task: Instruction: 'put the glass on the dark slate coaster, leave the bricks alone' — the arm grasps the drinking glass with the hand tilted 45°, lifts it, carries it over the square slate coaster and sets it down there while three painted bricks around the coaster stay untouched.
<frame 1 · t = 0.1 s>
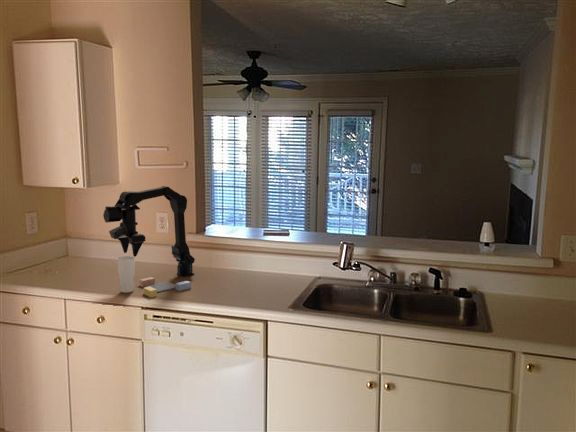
hand: (130, 254, 214), 15 cm above the worktop, tool pointing down, fingers open, 9 cm apart
drinking glass: (127, 291, 209), on the worktop
slate coaster: (162, 287, 215), on the worktop
brick slate blue: (183, 289, 214), on the worktop
brick mustard: (150, 295, 205), on the worktop
brick terracotta: (147, 285, 219), on the worktop
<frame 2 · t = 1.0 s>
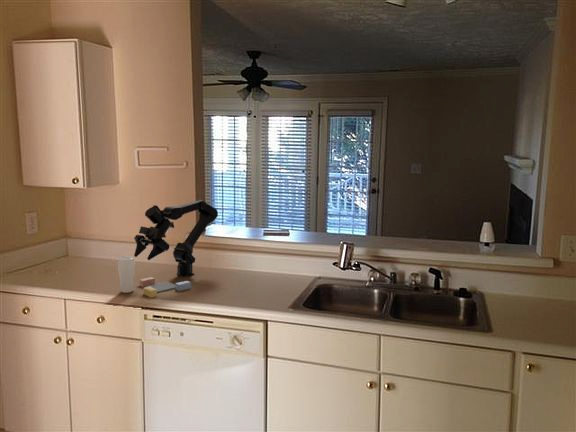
hand: (141, 258, 214), 13 cm above the worktop, tool tilted 45°, fingers open, 9 cm apart
nothing on the worktop moved.
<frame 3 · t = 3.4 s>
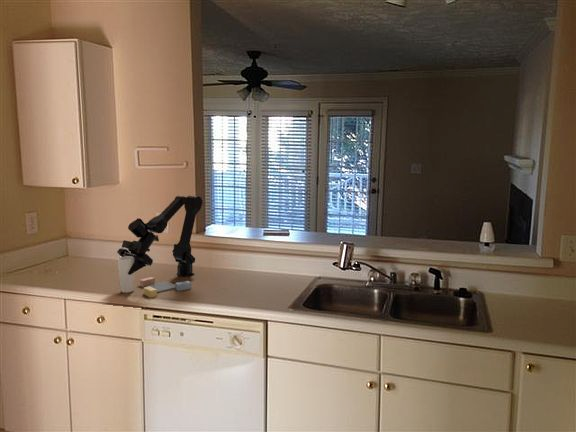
hand: (123, 272, 207), 9 cm above the worktop, tool tilted 45°, fingers closed on drinking glass, 6 cm apart
drinking glass: (127, 291, 209), on the worktop, touching gripper
everything else where it was.
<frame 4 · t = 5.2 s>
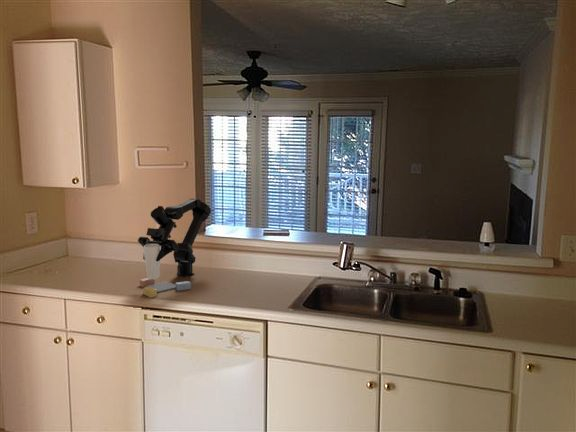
hand: (150, 260, 210), 13 cm above the worktop, tool tilted 45°, fingers closed on drinking glass, 6 cm apart
drinking glass: (153, 278, 213), point 5 cm above the worktop, touching gripper
everything else where it was.
when the fingers open (10 cm above the worktop, at t = 6.8 s): drinking glass stays where it is, resting on slate coaster.
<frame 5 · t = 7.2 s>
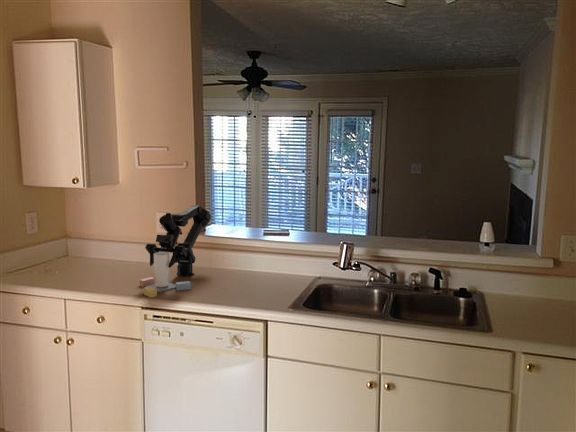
hand: (159, 266, 212), 10 cm above the worktop, tool tilted 45°, fingers open, 9 cm apart
drinking glass: (162, 286, 215), resting on slate coaster
everything else where it was.
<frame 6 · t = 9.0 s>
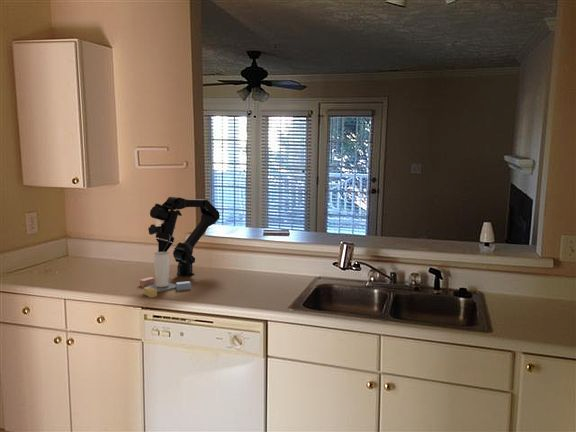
hand: (160, 255, 223), 12 cm above the worktop, tool tilted 20°, fingers open, 9 cm apart
nothing on the worktop moved.
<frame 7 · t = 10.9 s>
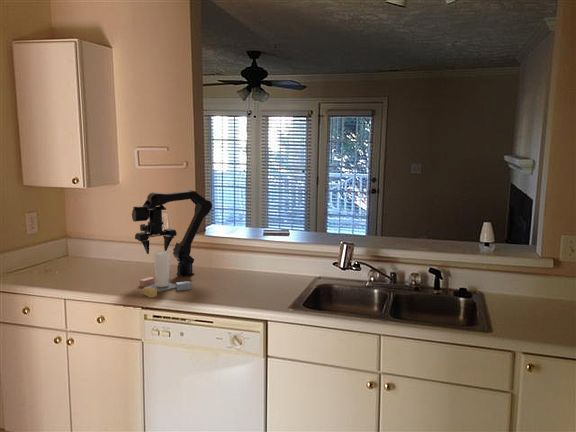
hand: (156, 252, 226), 13 cm above the worktop, tool pointing down, fingers open, 9 cm apart
nothing on the worktop moved.
at the end: drinking glass inside the target area on the slate coaster (0.2 cm from its centre), point 0.4 cm above the slate coaster's base; drinking glass tilted 1°; brick terracotta moved 0.2 cm from its start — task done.
